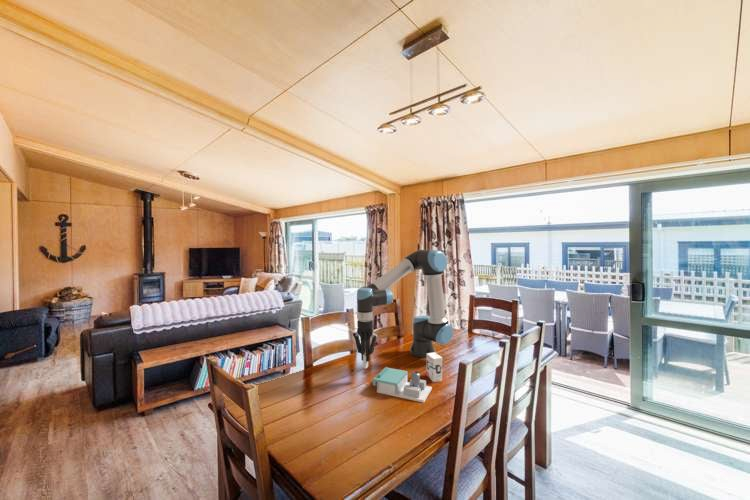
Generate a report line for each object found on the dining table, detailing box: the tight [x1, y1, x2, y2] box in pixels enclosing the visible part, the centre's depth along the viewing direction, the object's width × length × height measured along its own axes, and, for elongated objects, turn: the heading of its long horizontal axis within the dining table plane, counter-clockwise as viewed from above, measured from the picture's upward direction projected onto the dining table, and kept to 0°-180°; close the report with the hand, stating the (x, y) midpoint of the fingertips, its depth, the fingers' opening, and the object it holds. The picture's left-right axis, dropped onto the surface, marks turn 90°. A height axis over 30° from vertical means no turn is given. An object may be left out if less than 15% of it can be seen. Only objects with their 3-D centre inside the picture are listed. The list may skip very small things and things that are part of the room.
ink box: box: [425, 351, 443, 383], centre depth 159 cm, size 8×5×12 cm, turn 17°
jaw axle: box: [410, 371, 421, 388], centre depth 143 cm, size 4×4×9 cm
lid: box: [372, 366, 409, 387], centre depth 148 cm, size 15×12×4 cm
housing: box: [376, 373, 433, 404], centre depth 145 cm, size 14×22×5 cm, turn 66°
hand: (365, 367), depth 155 cm, fingers closed
